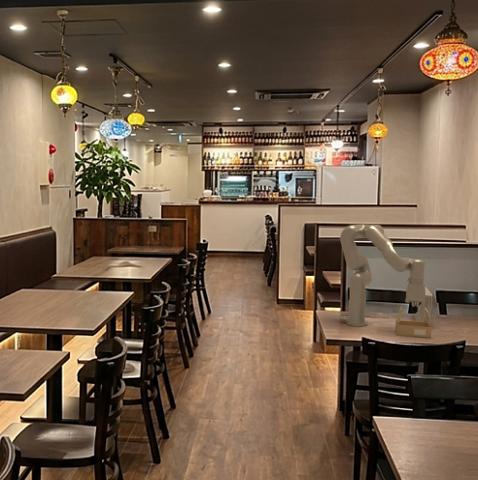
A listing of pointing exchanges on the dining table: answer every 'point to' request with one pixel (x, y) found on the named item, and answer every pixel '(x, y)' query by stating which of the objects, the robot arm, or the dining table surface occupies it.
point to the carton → (413, 329)
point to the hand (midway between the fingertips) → (414, 313)
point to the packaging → (421, 313)
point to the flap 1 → (399, 314)
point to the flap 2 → (427, 316)
